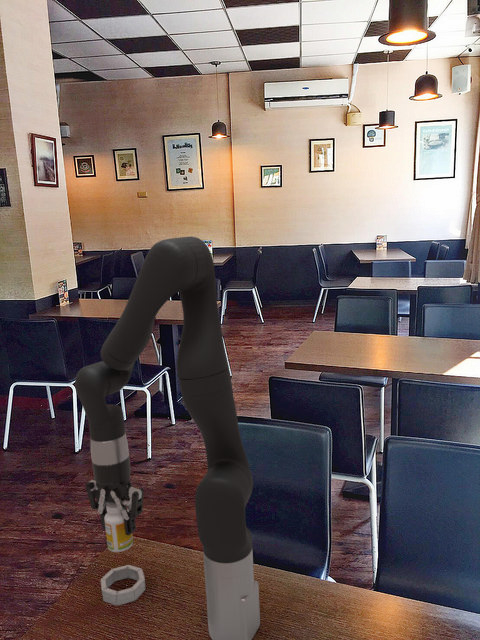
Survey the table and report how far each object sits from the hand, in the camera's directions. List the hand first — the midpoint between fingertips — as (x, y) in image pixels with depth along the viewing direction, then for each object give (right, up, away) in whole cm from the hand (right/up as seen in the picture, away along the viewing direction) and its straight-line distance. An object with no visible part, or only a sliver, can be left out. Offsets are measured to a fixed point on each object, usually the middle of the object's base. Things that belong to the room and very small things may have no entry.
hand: (118, 530), depth 109 cm
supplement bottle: (0, -4, +1) cm, 4 cm away
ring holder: (0, -14, +2) cm, 14 cm away
